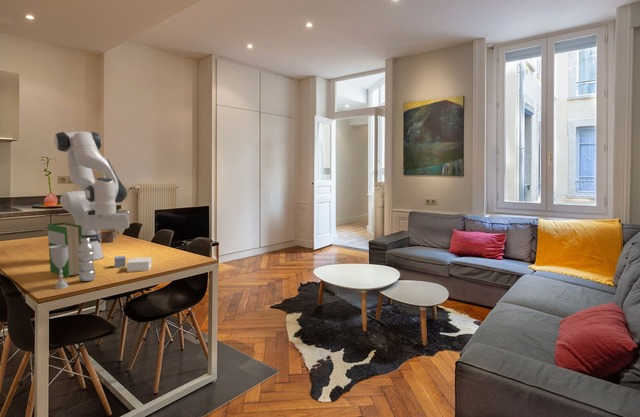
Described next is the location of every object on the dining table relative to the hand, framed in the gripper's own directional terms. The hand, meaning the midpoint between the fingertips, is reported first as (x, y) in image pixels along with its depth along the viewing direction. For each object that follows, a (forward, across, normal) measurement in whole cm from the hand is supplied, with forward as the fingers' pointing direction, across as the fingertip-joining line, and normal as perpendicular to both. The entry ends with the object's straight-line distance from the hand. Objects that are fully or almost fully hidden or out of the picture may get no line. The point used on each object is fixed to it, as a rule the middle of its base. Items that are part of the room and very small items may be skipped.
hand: (107, 238), depth 184 cm
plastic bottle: (+17, +8, +14) cm, 24 cm away
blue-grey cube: (+17, -5, -9) cm, 20 cm away
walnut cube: (+2, 0, 0) cm, 2 cm away
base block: (+17, -14, +1) cm, 22 cm away
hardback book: (+17, +18, -5) cm, 25 cm away
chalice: (+17, +17, +20) cm, 31 cm away
